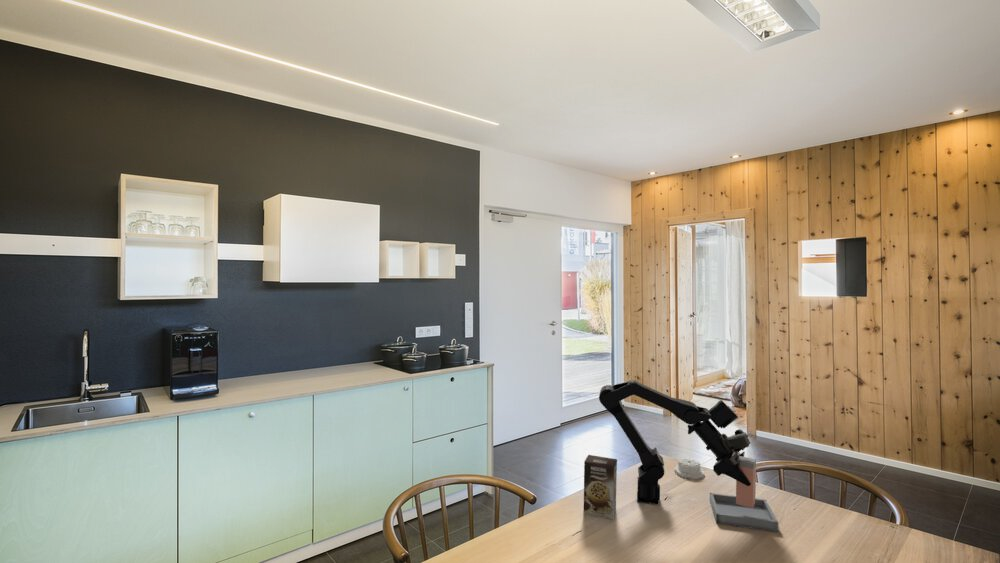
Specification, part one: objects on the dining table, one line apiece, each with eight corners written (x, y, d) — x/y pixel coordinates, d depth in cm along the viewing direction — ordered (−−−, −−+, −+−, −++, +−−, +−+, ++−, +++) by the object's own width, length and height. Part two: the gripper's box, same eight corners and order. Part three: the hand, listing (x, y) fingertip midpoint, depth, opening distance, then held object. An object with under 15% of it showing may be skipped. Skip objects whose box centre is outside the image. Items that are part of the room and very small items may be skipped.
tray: (716, 523, 140) (716, 513, 140) (709, 501, 153) (709, 492, 153) (778, 532, 135) (778, 522, 135) (765, 508, 149) (765, 499, 149)
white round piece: (708, 480, 170) (699, 468, 179) (708, 468, 169) (699, 457, 179) (678, 479, 171) (671, 467, 180) (678, 466, 170) (671, 456, 180)
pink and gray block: (735, 503, 143) (736, 460, 143) (738, 498, 147) (739, 455, 146) (752, 508, 140) (753, 464, 140) (755, 502, 144) (756, 459, 144)
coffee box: (582, 514, 145) (583, 461, 145) (587, 504, 151) (587, 453, 151) (613, 520, 141) (614, 465, 141) (616, 510, 147) (617, 458, 147)
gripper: (726, 431, 138) (769, 479, 132) (738, 415, 153) (777, 458, 147) (696, 452, 143) (736, 499, 136) (711, 435, 158) (748, 477, 151)
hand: (751, 482), depth 143 cm, fingers closed on pink and gray block, 4 cm apart
